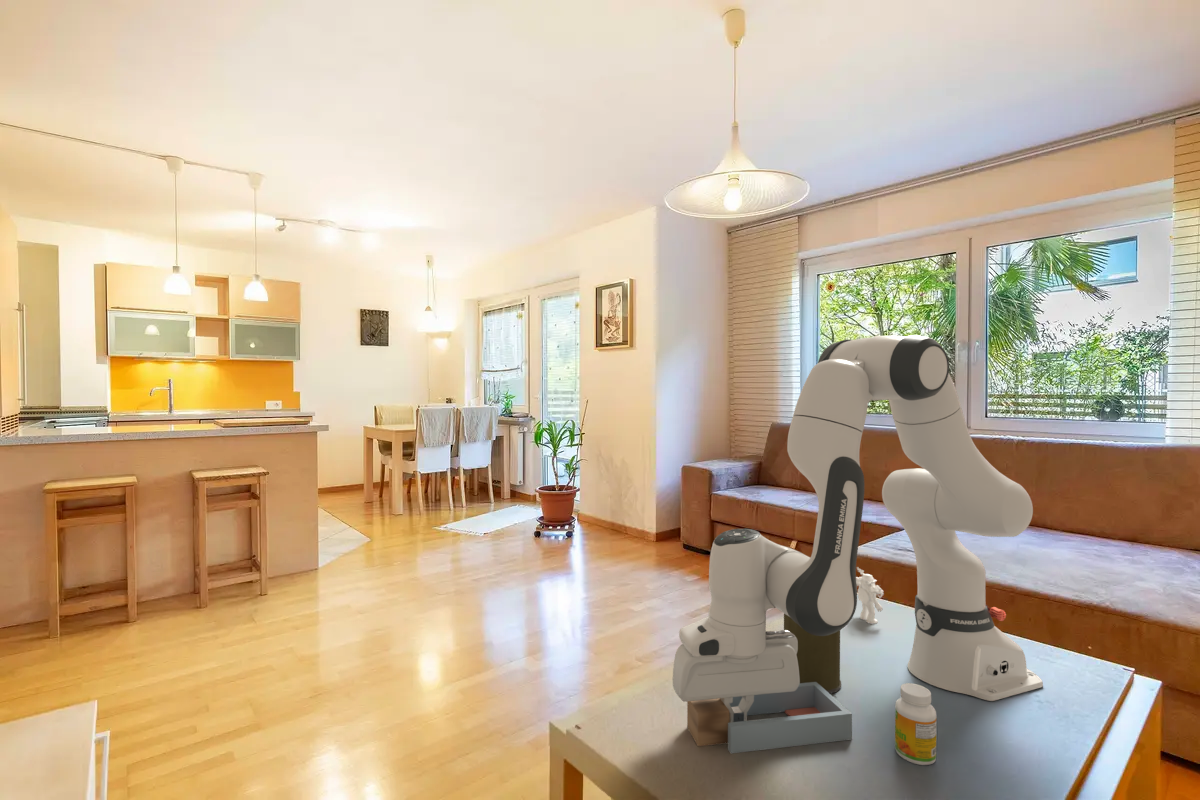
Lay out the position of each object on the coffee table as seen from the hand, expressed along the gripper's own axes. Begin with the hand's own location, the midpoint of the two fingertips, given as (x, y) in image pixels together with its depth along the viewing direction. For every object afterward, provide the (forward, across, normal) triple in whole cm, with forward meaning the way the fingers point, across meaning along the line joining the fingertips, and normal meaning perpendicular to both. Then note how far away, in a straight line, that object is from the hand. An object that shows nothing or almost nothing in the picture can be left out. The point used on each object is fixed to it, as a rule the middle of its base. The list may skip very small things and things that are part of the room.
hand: (736, 721), depth 90 cm
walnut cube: (+2, +5, 0) cm, 5 cm away
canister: (+2, -21, -13) cm, 25 cm away
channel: (+2, -7, 0) cm, 7 cm away
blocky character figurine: (+2, -50, -37) cm, 62 cm away
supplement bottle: (+2, -24, +10) cm, 26 cm away
